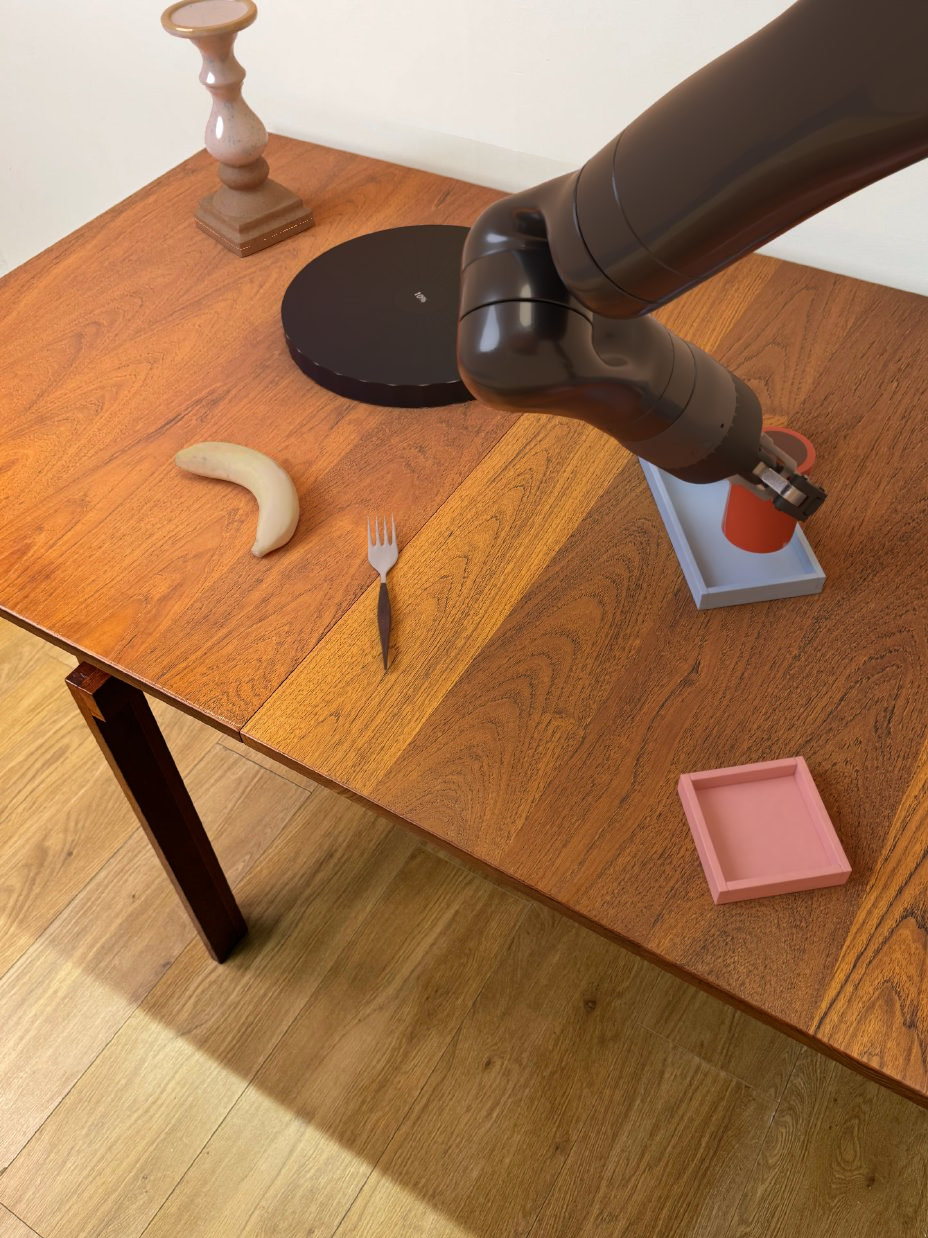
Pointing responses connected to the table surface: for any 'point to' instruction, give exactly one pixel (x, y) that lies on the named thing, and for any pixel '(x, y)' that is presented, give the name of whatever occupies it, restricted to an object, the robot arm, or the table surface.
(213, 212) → the candle holder
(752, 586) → the blue tray
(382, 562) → the fork
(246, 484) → the fruit
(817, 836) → the pink tray
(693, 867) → the table surface
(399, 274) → the disc
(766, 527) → the red spoon pot
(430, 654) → the table surface
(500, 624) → the table surface
